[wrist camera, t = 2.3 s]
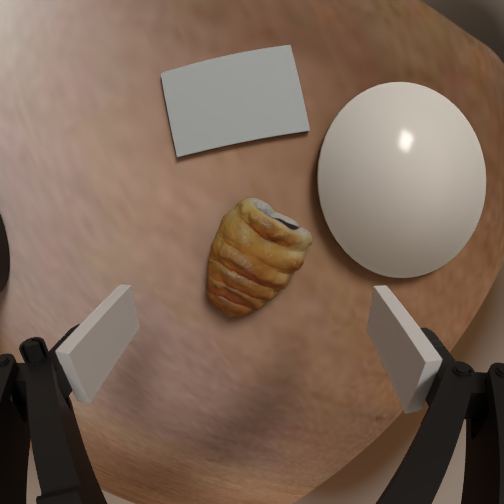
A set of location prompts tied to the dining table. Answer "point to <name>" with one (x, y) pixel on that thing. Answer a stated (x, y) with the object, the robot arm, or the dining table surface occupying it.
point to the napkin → (234, 100)
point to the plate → (401, 179)
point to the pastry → (253, 257)
